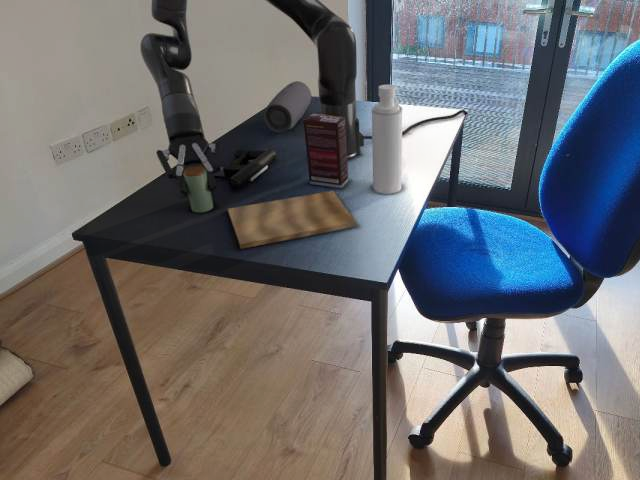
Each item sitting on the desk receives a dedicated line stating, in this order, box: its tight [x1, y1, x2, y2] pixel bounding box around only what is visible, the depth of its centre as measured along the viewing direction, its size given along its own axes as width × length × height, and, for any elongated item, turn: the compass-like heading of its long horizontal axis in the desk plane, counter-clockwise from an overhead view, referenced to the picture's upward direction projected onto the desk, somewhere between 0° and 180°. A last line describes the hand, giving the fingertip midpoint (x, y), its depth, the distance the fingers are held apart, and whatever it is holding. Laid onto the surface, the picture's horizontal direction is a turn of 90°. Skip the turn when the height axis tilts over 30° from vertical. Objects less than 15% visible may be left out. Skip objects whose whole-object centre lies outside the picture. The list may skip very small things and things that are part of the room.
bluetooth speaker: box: [263, 80, 312, 134], centre depth 165 cm, size 23×9×10 cm, turn 172°
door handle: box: [214, 148, 277, 190], centre depth 139 cm, size 3×20×16 cm
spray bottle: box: [371, 84, 403, 195], centre depth 124 cm, size 7×7×25 cm
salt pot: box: [183, 165, 214, 214], centre depth 121 cm, size 5×5×9 cm
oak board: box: [227, 190, 357, 250], centre depth 119 cm, size 24×16×1 cm, turn 111°
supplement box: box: [303, 112, 349, 189], centre depth 130 cm, size 9×5×16 cm, turn 71°
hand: (199, 191), depth 120 cm, fingers closed on salt pot, 5 cm apart
